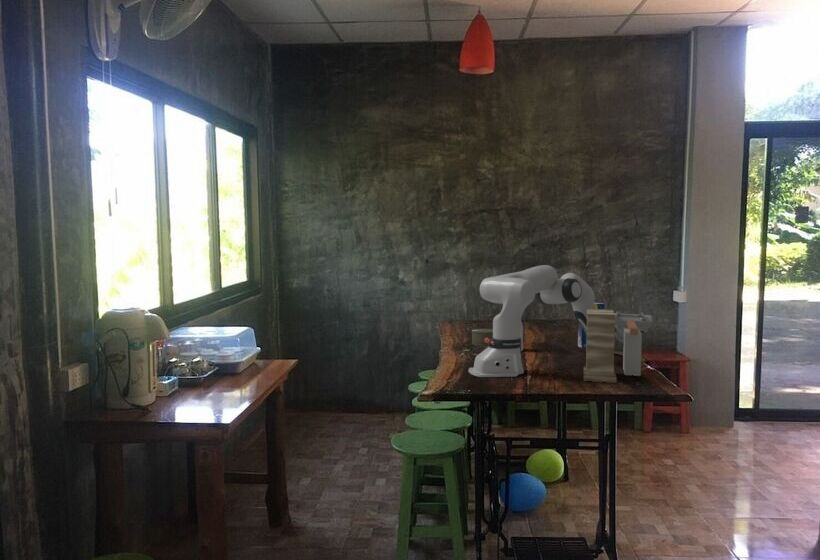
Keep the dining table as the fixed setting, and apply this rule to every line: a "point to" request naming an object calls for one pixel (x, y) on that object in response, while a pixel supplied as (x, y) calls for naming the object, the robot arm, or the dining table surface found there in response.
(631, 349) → the seat block
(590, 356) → the stand
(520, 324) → the milk bottle
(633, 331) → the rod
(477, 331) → the can
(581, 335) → the beverage box
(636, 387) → the dining table surface
